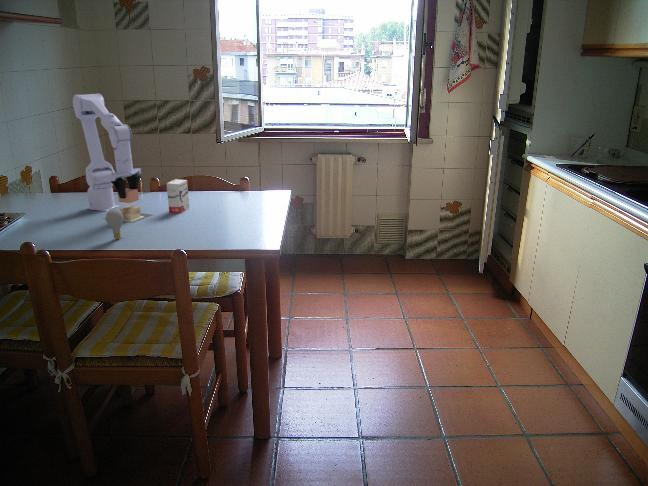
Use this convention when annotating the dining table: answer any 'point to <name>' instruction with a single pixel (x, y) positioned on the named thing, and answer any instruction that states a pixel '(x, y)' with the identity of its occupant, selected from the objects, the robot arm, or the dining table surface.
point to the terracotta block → (129, 196)
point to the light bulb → (115, 222)
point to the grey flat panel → (137, 218)
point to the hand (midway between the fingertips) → (128, 196)
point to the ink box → (177, 196)
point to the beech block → (130, 212)
